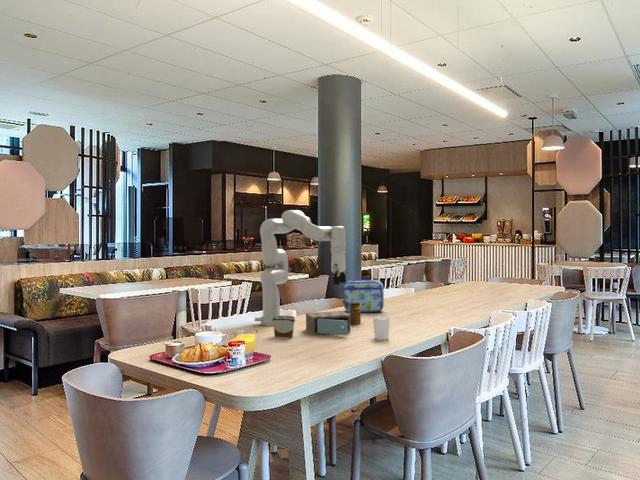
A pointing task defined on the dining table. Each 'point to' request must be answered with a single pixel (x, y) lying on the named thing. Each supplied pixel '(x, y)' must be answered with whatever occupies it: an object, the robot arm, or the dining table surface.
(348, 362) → the dining table surface
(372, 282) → the lunch box
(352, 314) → the condiment
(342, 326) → the door
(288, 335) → the food container
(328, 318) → the bread box
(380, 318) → the white cup
